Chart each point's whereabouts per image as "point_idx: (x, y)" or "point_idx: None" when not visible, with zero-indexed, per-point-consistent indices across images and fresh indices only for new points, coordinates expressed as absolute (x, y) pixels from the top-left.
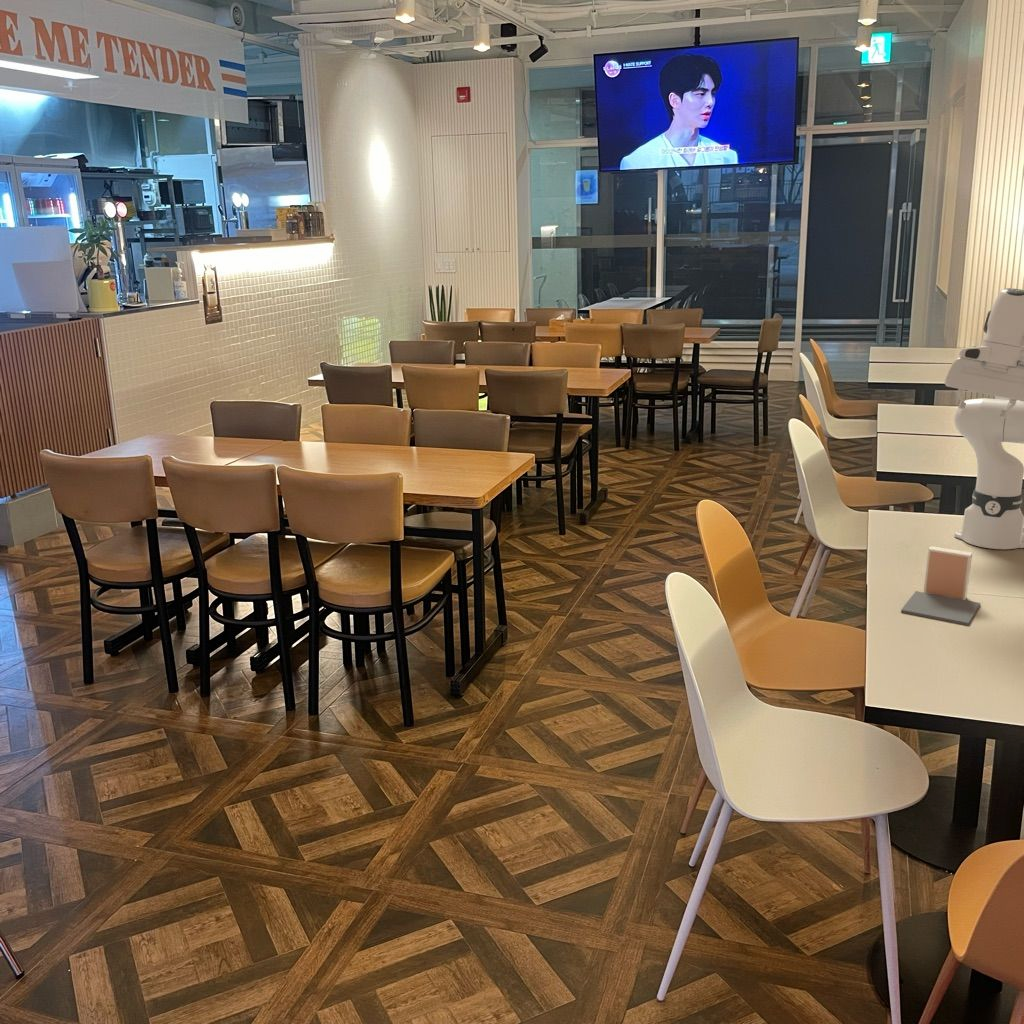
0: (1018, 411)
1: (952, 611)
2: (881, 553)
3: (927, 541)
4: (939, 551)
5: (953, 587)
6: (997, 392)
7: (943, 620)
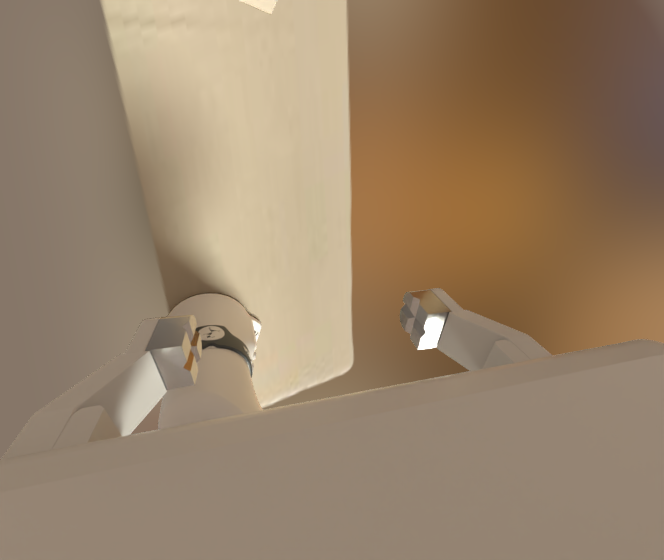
0: None
1: None
2: (343, 202)
3: (291, 285)
4: None
5: None
6: (250, 445)
7: None
